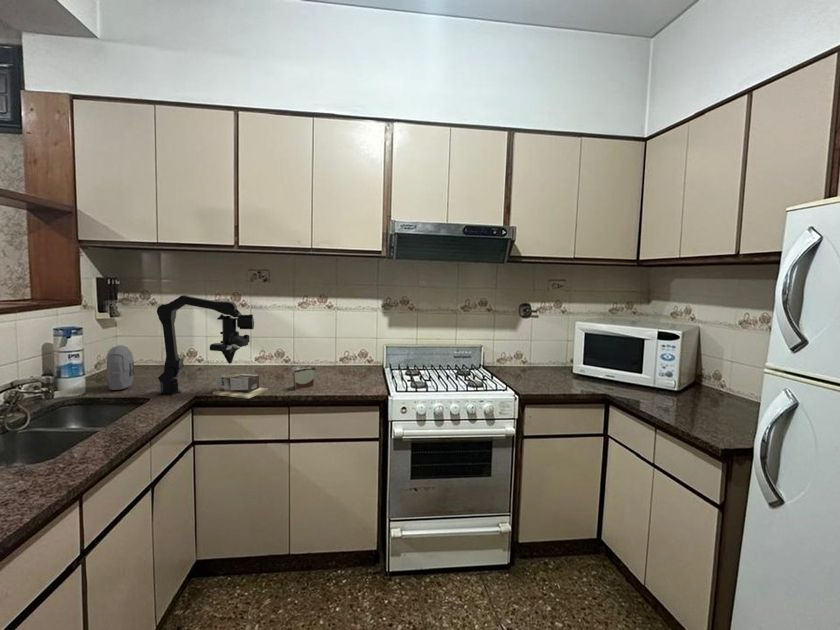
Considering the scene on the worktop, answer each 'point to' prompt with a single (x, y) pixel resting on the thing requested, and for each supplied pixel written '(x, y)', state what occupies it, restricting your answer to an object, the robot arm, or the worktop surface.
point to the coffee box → (237, 382)
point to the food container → (303, 376)
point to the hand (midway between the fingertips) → (229, 363)
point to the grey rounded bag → (120, 368)
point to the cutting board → (240, 393)
